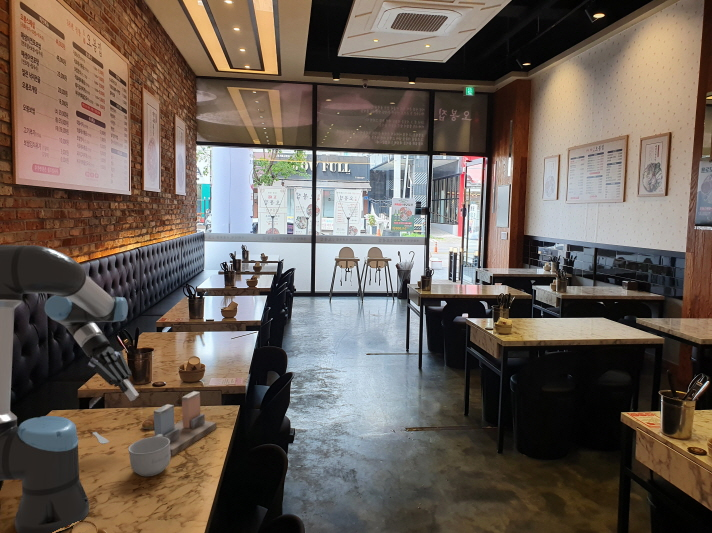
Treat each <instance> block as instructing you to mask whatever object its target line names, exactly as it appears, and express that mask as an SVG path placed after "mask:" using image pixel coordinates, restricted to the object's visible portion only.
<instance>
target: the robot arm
mask: <svg viewBox="0 0 712 533" xmlns="http://www.w3.org/2000/svg"><path fill="white" fill-rule="evenodd" d="M25 294H26V295H27V294H29V295H31V294H51V295H52V294H53V295H52V296H50V297H49V298H48V299H47V300H46V302H45V305H44V312H45V314H46V315H47V316H48V317H49V318H50V319H51V320H53V321H55V322H57V323H59V324H61V325H62V326H64V327H65V328H66V329H67V330H68V332H69V334H71V335H72V337H73V338H74V340H75V341H76V343H77V344H78V345H79V346H80V348H81V349H82V351H83V352H84V354H85V355H86V356H87V357H88V358H89V359H90V360H89V362H88V364H87V365H86V366H87V368H90V369H91V370H93V371H94V372H95V373H97V374H98V375H99V376H100V377H101V378H102V379H103V380H104V381H105V382H106V383H107V384H108V385H109V386H113V387H115V388H119V390H121V392H122V393H124V395H126V396H127V399H128V400H129V401H130V402H133V401H134V400H137V398H138V397H139V394H140V393H138V391H137V390H136V389H135V386H134V384H133V383H132V382H131V380H130V378H131V376H133V374H132V371H131V369H130V368H129V366H128V364H127V361H126V359H125V357H124V351H123V350H119V351H115V349H114V348H113V347H111V345H110V341H109V340H108V338H107V337H106V336H105V334H103V332H102V330H101V329H100V327H99V326H98V325H97V324H96V322H97V323H102V322H103V323H104V322H107V323H109V322H110V323H115V322H123V321H125V320H126V319H127V316H128V313H129V312H128V310H129V307H128V301H127V299H126V298H125V297H123V296H122V297H121V296H120V297H119V296H111V295H110V294H109V293H108V292H106V291H105V290H104V289H103V288H102V287H100V285H99V284H97V283H96V281H94V280H93V279H91V278H90V277H89V276H88V275H87V272H86V269H85V268H84V267H83V266H82V265H81V264H80V262H78V261H76V260H75V259H73V258H72V257H71V256H68V255H66V254H65V253H63V252H60V251H58V250H56V249H53V248H50V247H48V246H47V247H46V246H43V245H36V244H34V245H33V244H28V245H21V244H20V245H19V244H18V245H17V244H16V245H15V244H10V245H9V244H0V481H12V480H13V481H14V480H21V488H22V493H21V496H20V497H21V498H20V499H19V500H20V501H19V504H18V509H17V511H16V513H15V516H14V527H15V531H16V532H17V533H52V532H54V531H56V530H58V529H60V528H63V527H66V526H68V525H71V524H72V523H75V522H77V521H80V520H82V521H83V520H84V519H86V517H87V516H88V514H89V513H90V501H89V498H88V496H87V493H86V491H85V488H84V486H83V484H82V482H81V479H80V463H79V462H80V461H79V437H78V431H77V427H76V424H75V423H74V422H73V421H72V420H70V419H69V418H66V417H63V416H57V415H43V416H40V417H33V418H32V417H31V418H28V419H26V420H24V421H23V422H21V423H20V424H19V426H18V417H17V415H15V414H14V413H13V412H12V411H11V391H12V390H11V388H12V371H13V368H12V367H13V352H14V351H13V350H14V349H13V347H14V345H13V344H14V327H15V326H14V323H15V309H16V308H17V307H18V306H19V305H21V304H22V303H23V295H25Z"/></svg>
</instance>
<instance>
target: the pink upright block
mask: <svg viewBox="0 0 712 533" xmlns="http://www.w3.org/2000/svg"><path fill="white" fill-rule="evenodd" d="M181 405H182V406H181V407H182V408H181V410H182V411H181V412H182V413H181V414H182V420H183V427H187V428H190V427H191V420H192V419H194V418H196V417H197V416H199V415H201V392H200V391H195V390H193V391H192V392H190V393H188V394H185V395H184V396H183V395H182V396H181Z"/></svg>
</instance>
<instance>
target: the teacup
mask: <svg viewBox="0 0 712 533" xmlns="http://www.w3.org/2000/svg"><path fill="white" fill-rule="evenodd" d="M127 450H128V454H129V462H130V466H131V469H132V471H133V472H134V473H136V474H138V475H139V476H141V477H152V476H153V477H154V476H156V475H159V474H160V473H162V472H164V470H165V469H166V468H167V467H168V466H169V465H170V462H171V457H172V456H171V453H170V440H169V439H168V438H166V437H163V435H162V434H158V435H157V436H156V437H153V436H150V437H146V438H141V439H139V440H137V441H134V442H133V443H131V444H130V445H129V446H128V448H127Z"/></svg>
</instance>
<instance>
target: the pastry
mask: <svg viewBox="0 0 712 533" xmlns="http://www.w3.org/2000/svg"><path fill="white" fill-rule="evenodd" d="M153 428H154V413H152V414H150V415H148V416H147V417H146V418H145V420H144V421H143V423H142V429H143V430H154V429H153Z"/></svg>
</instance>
